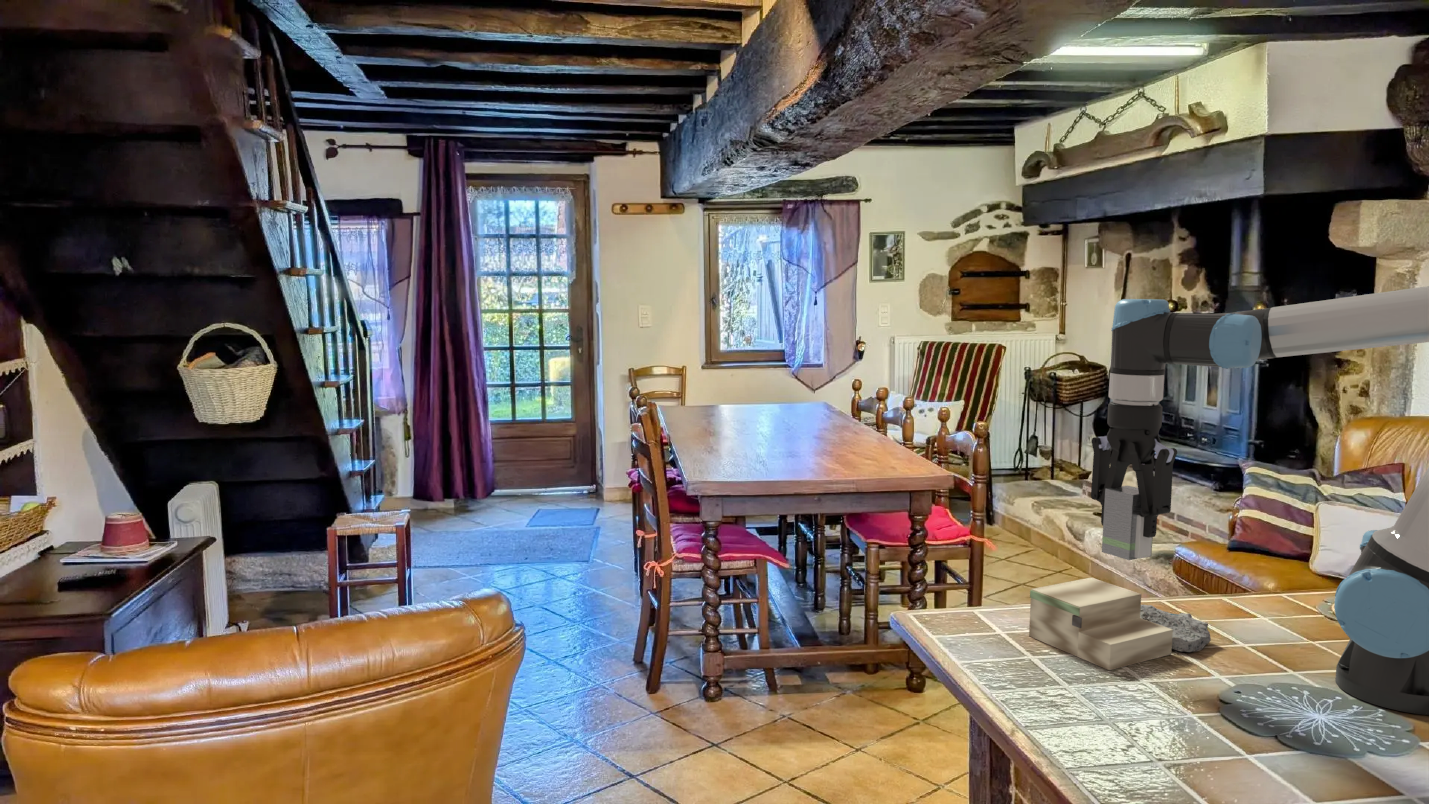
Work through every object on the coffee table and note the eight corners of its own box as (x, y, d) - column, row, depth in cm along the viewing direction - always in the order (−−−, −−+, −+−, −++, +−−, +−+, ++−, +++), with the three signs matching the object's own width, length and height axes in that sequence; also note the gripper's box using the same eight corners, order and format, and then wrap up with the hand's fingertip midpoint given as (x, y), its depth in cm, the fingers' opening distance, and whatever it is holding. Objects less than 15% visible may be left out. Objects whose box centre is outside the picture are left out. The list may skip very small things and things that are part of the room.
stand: (1171, 654, 151) (1174, 604, 150) (1107, 670, 144) (1110, 619, 143) (1088, 622, 165) (1091, 577, 164) (1027, 636, 158) (1029, 589, 157)
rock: (1218, 647, 155) (1221, 617, 155) (1186, 658, 150) (1188, 627, 149) (1144, 623, 166) (1146, 595, 165) (1111, 633, 160) (1114, 604, 160)
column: (1151, 555, 146) (1155, 491, 145) (1129, 560, 144) (1133, 494, 143) (1123, 548, 151) (1127, 485, 149) (1101, 552, 148) (1105, 488, 147)
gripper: (1206, 407, 138) (1195, 564, 141) (1103, 394, 154) (1095, 535, 157) (1172, 410, 135) (1161, 571, 138) (1070, 396, 151) (1062, 541, 153)
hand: (1126, 551), depth 147 cm, fingers closed on column, 5 cm apart
